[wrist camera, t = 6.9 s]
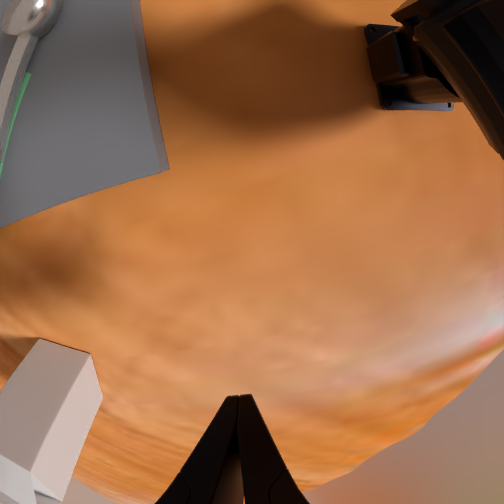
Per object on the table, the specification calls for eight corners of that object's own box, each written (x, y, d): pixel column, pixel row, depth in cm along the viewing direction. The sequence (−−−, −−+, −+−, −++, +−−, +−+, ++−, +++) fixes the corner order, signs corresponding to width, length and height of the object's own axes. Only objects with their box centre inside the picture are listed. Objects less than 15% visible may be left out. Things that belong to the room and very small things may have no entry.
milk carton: (39, 336, 25) (-45, 465, 7) (92, 352, 25) (15, 510, 8) (55, 380, 27) (-5, 498, 10) (104, 395, 28) (53, 532, 10)
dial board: (134, -66, 10) (125, -78, 8) (169, 168, 19) (160, 173, 17) (-29, 39, 12) (-42, 38, 9) (-7, 230, 20) (-21, 238, 18)
